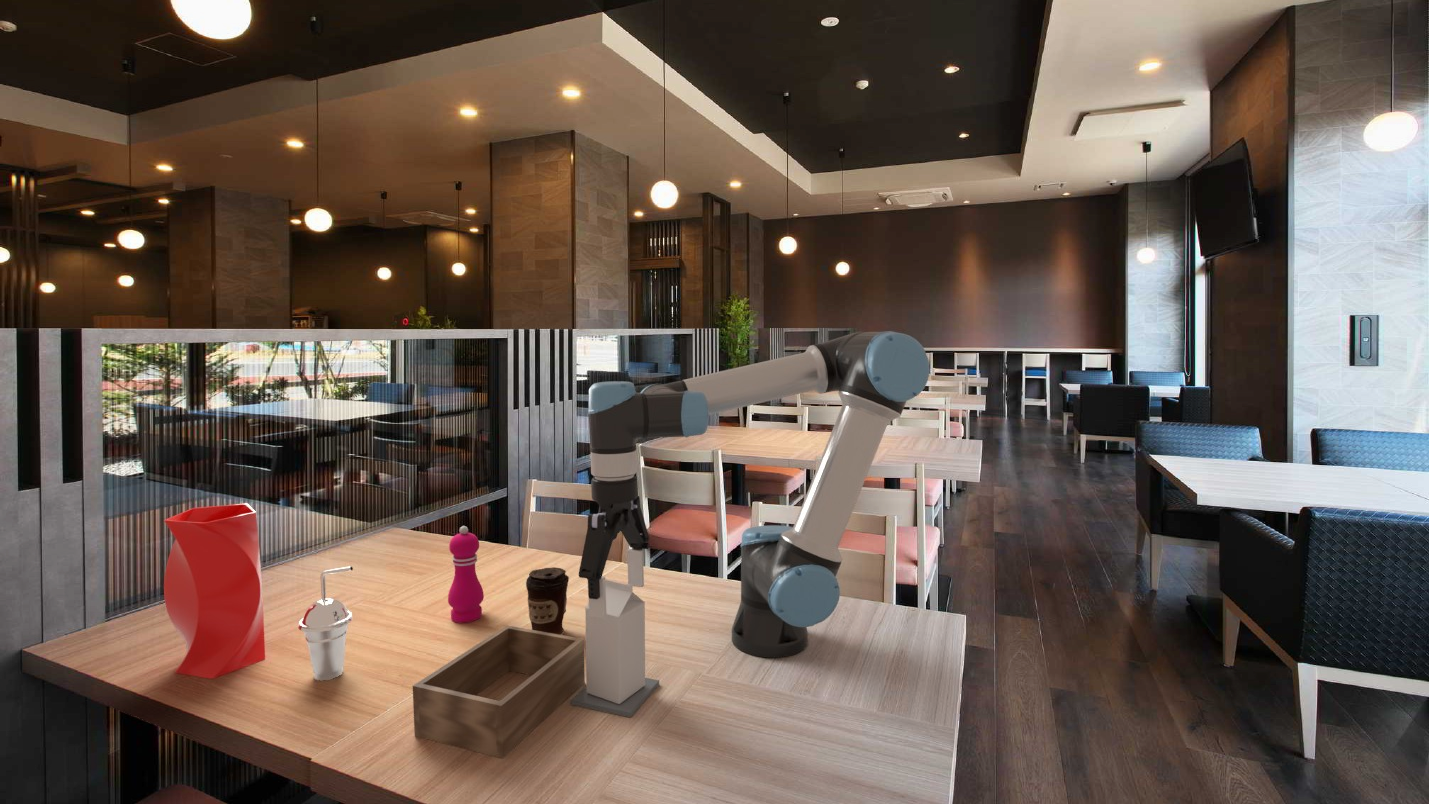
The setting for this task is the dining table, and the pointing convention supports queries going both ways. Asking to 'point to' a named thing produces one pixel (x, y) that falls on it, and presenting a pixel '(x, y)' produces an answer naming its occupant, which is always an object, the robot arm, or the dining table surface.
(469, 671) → the crate
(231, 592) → the vase
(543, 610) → the coffee cup
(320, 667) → the cup with straw
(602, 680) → the milk carton
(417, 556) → the dining table surface
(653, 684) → the coaster
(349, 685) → the dining table surface
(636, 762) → the dining table surface
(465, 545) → the pepper mill
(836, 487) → the robot arm
